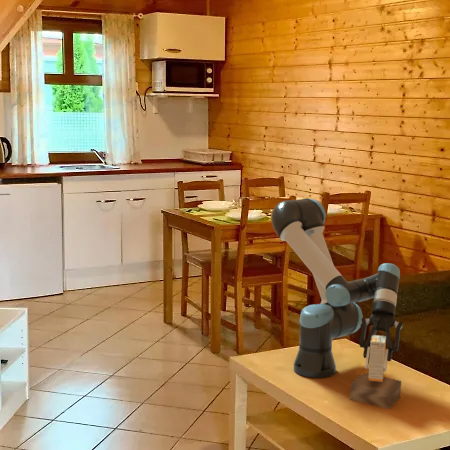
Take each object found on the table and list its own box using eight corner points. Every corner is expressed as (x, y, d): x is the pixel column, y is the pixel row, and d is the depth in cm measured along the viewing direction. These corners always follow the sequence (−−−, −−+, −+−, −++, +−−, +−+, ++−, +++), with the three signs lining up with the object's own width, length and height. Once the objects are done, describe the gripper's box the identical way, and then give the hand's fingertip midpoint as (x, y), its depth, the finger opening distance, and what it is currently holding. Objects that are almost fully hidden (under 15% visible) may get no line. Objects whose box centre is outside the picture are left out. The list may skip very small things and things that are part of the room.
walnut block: (350, 400, 231) (351, 383, 230) (362, 389, 240) (363, 373, 239) (388, 409, 224) (389, 391, 223) (400, 398, 234) (401, 381, 233)
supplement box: (383, 382, 227) (385, 342, 225) (368, 380, 228) (370, 341, 226) (384, 373, 235) (386, 335, 233) (369, 371, 236) (371, 333, 234)
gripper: (412, 313, 240) (404, 377, 227) (358, 308, 246) (348, 369, 233) (411, 302, 234) (404, 366, 221) (356, 296, 240) (346, 359, 227)
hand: (375, 368), depth 227 cm, fingers closed on supplement box, 5 cm apart
